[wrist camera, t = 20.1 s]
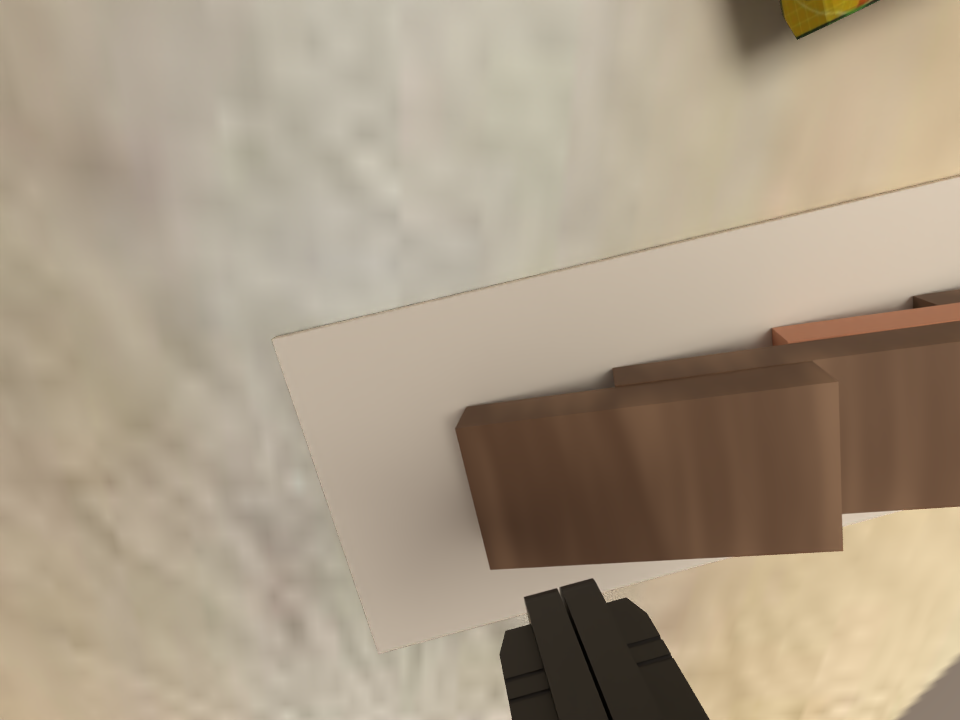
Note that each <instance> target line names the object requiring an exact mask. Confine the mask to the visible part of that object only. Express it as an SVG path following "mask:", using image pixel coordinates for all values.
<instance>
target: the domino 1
mask: <svg viewBox="0 0 960 720" xmlns="http://www.w3.org/2000/svg"><path fill="white" fill-rule="evenodd" d="M455 431H456V435H457V439H458V443H459V447H460V451H461V455H462V459H463V463H464V467H465V471H466V475H467V479H468V483H469V487H470V491H471V495H472V499H473V503H474V507H475V511H476V515H477V519H478V523H479V527H480V531H481V535H482V539H483V543H484V547H485V551H486V555H487V559H488V563H489V567H490V570H498V569H516V568H535V567H554V566H572V565H591V564H610V563H628V562H647V561H665V560H684V559H703V558H721V557H740V556H759V555H777V554H796V553H814V552H833V551H843V533H842V495H841V457H840V418H839V382H838V381H837V380H836V379H835V378H833V377H832V376H831V375H829V374H828V373H827V372H826V371H824V370H823V369H822V368H820V367H819V366H818V365H817V364H815V363H814V362H813V361H809V362H802V363H794V364H787V365H779V366H771V367H764V368H756V369H749V370H741V371H734V372H726V373H718V374H711V375H703V376H696V377H688V378H681V379H673V380H665V381H658V382H650V383H643V384H635V385H628V386H620V387H612V388H605V389H597V390H590V391H582V392H574V393H567V394H559V395H552V396H544V397H537V398H529V399H521V400H514V401H506V402H499V403H491V404H484V405H476V406H468V407H466V408H465V410H464V412H463V414H462V416H461V418H460V420H459V422H458V424H457V425H456V427H455Z"/></svg>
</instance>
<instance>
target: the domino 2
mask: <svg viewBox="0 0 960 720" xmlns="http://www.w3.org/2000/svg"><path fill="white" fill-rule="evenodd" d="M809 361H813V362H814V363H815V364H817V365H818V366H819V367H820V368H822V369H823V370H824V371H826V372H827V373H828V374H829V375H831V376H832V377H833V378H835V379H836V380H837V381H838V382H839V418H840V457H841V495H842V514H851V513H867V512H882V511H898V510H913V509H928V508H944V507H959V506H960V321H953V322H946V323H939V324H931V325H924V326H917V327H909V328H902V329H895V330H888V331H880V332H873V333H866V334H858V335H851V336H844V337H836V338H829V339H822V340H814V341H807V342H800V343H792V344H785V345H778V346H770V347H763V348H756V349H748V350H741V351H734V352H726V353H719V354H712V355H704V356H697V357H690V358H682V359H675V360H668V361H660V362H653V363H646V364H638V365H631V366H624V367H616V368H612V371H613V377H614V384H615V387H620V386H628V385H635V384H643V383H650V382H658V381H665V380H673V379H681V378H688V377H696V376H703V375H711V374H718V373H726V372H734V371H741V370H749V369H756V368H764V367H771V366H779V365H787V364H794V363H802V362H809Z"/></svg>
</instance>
